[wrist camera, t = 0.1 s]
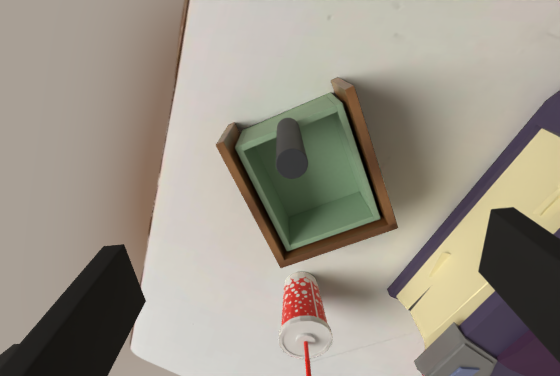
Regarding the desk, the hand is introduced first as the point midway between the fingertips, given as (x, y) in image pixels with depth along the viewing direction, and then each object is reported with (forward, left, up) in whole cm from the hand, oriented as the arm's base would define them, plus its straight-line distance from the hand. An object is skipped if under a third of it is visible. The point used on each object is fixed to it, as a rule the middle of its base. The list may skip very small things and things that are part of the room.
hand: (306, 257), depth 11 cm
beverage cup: (+23, 0, -24) cm, 34 cm away
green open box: (+5, +2, -24) cm, 25 cm away
